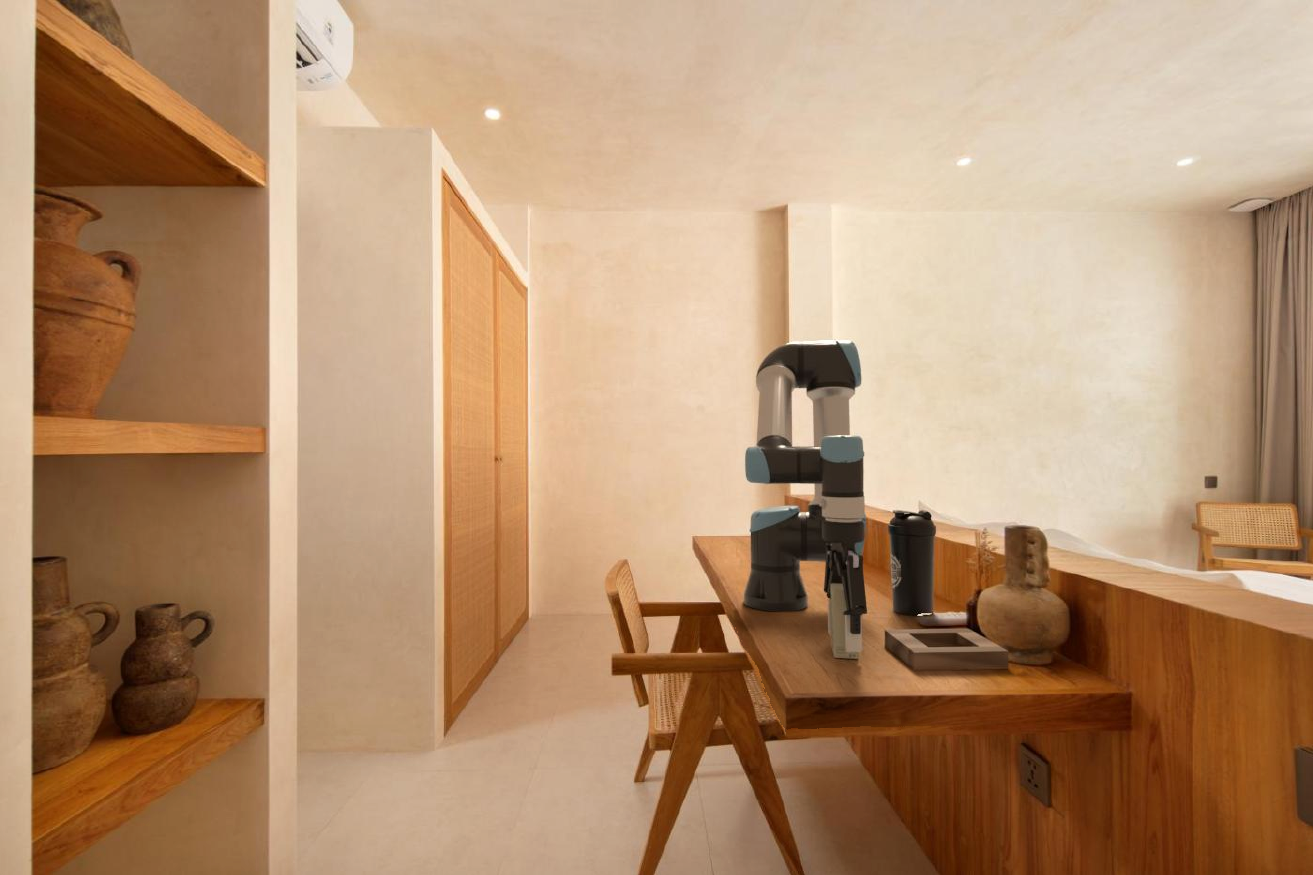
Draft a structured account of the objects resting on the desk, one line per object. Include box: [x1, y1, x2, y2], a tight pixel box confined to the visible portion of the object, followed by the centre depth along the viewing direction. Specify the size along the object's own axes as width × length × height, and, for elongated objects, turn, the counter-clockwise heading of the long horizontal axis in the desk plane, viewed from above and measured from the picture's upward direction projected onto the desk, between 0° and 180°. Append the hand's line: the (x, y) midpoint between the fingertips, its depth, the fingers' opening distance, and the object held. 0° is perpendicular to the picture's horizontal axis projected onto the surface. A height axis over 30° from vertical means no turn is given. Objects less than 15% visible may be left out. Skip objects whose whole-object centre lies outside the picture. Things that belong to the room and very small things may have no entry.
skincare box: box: [830, 583, 859, 660], centre depth 113 cm, size 6×4×12 cm
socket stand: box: [884, 628, 1010, 671], centre depth 111 cm, size 13×16×3 cm
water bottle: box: [887, 509, 937, 617], centre depth 141 cm, size 10×10×23 cm
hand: (844, 642), depth 113 cm, fingers open, 9 cm apart
